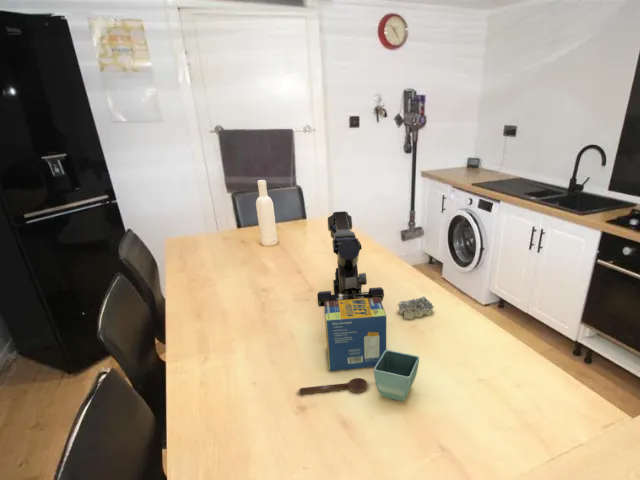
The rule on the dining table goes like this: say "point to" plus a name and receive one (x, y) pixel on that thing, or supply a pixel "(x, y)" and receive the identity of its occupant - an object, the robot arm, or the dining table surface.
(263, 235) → the bottle
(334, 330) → the protein box
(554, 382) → the dining table surface
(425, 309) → the egg carton
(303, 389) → the wooden spoon
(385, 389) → the flower pot
